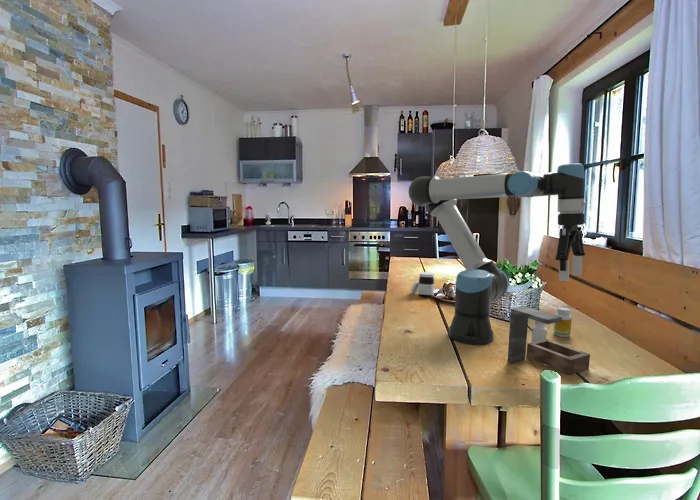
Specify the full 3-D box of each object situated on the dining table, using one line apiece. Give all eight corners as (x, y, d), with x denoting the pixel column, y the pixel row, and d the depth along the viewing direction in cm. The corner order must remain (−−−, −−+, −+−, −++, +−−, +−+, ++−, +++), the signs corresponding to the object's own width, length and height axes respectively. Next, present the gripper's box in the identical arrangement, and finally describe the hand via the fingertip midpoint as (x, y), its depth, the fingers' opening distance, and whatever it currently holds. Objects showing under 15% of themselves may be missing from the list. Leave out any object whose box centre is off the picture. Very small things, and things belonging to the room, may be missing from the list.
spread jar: (433, 299, 191) (434, 275, 190) (410, 297, 194) (410, 274, 192) (434, 293, 203) (434, 271, 201) (412, 291, 206) (412, 270, 204)
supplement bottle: (572, 337, 139) (574, 311, 138) (555, 336, 140) (558, 310, 139) (567, 332, 144) (569, 307, 143) (551, 331, 145) (553, 306, 144)
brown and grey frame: (507, 362, 118) (511, 308, 115) (545, 352, 126) (549, 301, 124) (550, 381, 105) (555, 322, 103) (588, 368, 114) (594, 313, 111)
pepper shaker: (546, 348, 129) (548, 320, 128) (532, 346, 130) (535, 319, 129) (543, 343, 133) (545, 316, 132) (530, 342, 134) (532, 315, 133)
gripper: (571, 213, 115) (571, 284, 116) (594, 211, 132) (594, 273, 134) (544, 214, 120) (544, 282, 122) (570, 212, 137) (570, 272, 139)
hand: (570, 277), depth 128 cm, fingers open, 13 cm apart
